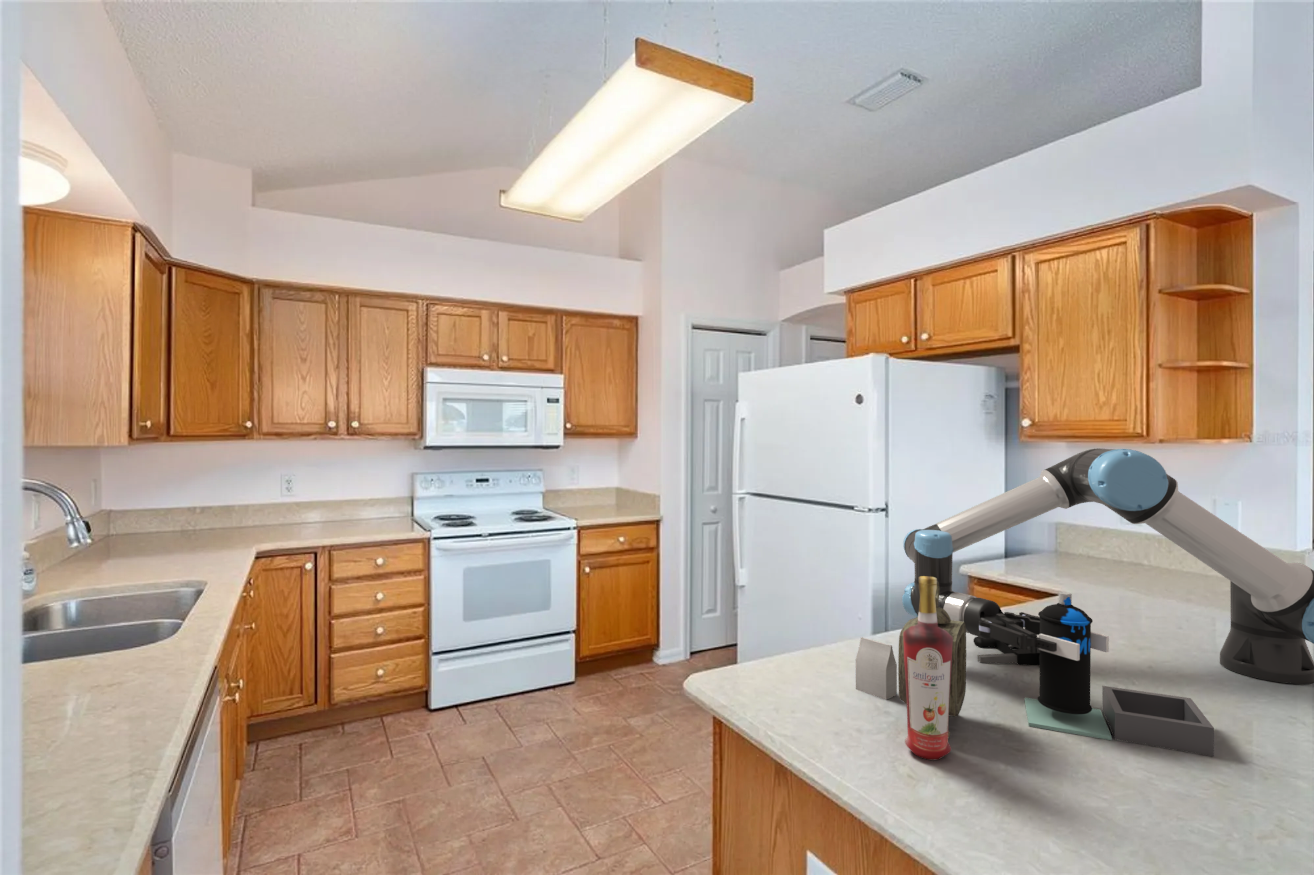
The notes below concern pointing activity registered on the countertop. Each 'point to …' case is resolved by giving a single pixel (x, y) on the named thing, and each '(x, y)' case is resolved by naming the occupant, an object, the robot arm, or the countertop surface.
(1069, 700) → the aerosol can
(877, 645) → the tea bag
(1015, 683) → the countertop surface
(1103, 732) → the occupied pad
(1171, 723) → the grey square tray
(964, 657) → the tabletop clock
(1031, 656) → the door handle
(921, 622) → the liquor
